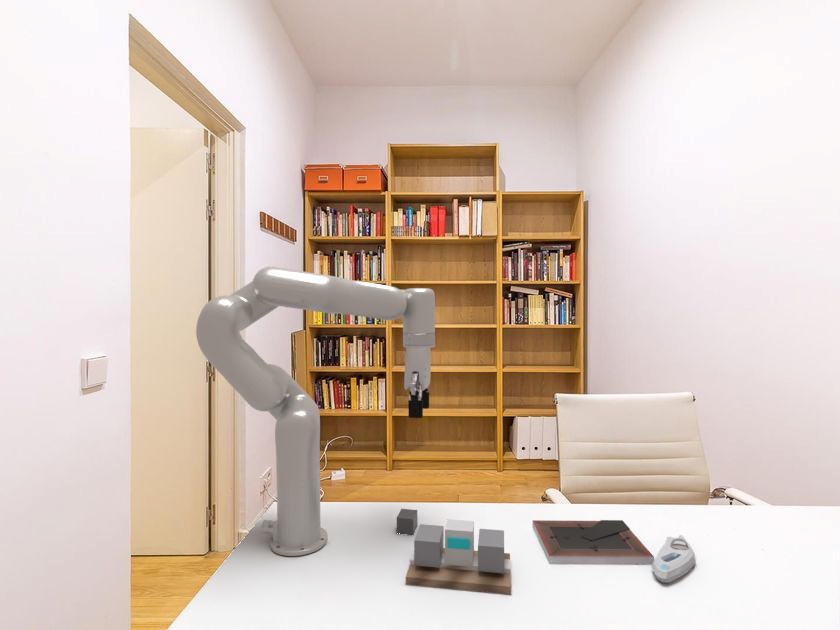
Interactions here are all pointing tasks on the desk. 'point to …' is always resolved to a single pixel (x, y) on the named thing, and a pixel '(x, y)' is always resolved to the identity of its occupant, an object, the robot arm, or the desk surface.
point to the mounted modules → (432, 547)
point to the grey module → (459, 542)
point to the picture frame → (591, 543)
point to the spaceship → (673, 559)
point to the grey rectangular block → (407, 521)
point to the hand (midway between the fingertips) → (419, 412)
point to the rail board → (461, 576)
